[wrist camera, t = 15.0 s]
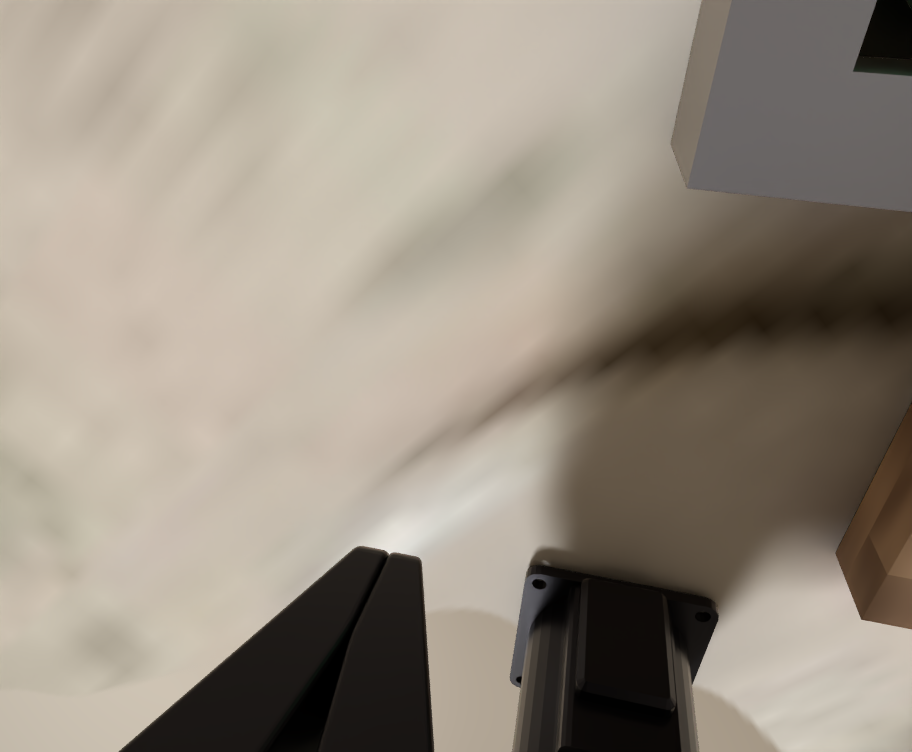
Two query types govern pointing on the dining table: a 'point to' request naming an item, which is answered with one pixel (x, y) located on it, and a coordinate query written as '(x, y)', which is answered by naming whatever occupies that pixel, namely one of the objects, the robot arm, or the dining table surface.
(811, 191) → the button housing
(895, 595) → the brown wooden pocket tray
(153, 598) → the dining table surface
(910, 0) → the button
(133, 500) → the dining table surface
